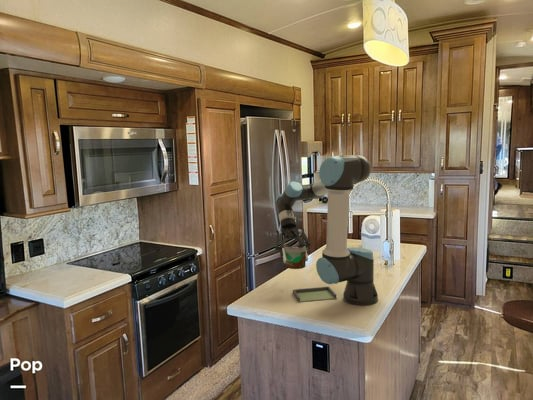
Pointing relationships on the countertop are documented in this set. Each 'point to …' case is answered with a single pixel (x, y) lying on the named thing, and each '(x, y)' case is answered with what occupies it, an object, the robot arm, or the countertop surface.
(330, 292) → the green tray
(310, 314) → the countertop surface
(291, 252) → the food container
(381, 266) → the countertop surface
